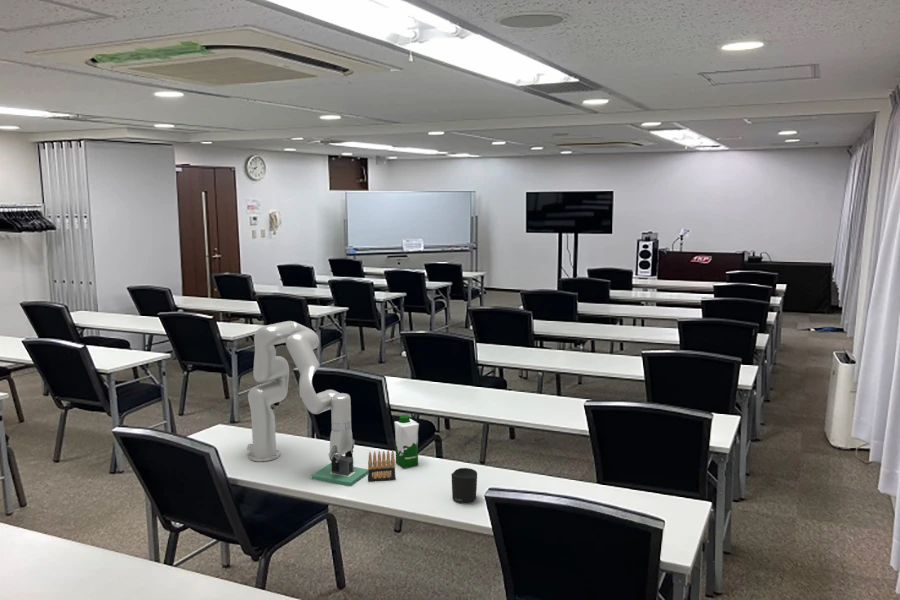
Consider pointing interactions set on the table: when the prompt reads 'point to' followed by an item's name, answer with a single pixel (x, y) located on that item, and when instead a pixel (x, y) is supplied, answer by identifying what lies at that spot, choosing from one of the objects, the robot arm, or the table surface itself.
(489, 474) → the table surface
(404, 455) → the milk carton
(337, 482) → the header board
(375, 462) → the ammunition clip
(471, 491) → the pen holder
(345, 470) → the block
